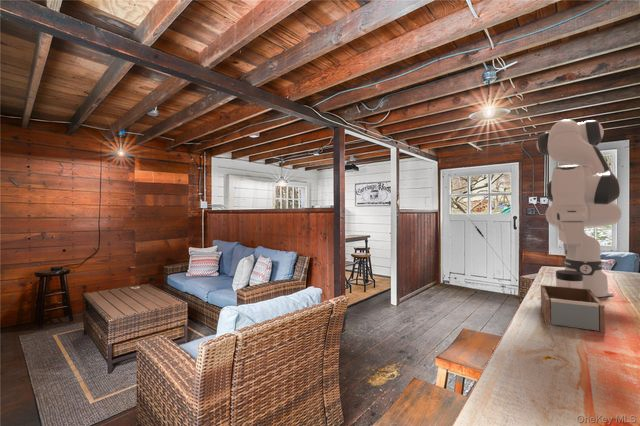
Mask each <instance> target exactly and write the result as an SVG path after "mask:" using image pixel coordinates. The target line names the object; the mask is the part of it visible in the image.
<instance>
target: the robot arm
mask: <svg viewBox="0 0 640 426" xmlns="http://www.w3.org/2000/svg"><path fill="white" fill-rule="evenodd" d="M604 132H605V131H604V128H603V126H602V124H600V122H599V120H594V119H591V120H585V121H584V122H583V121H581V122H576V121H575V120H573V119H561V120H559V121H557V122H556V123H555V124H553V125H552V127H551V128H550V130H549V131H545V132H543V133H541V134H540V135H538V137H537V140H536V149H537V150H538V151H539V153H540V155H543V156H549V157H550V158H551V159H552V160H553V161H555V162H556V163H558V166H555V167H554V168H553V169H552V174H551V175H552V176H551V180H550V181H549V182H547V184H546V186H547V187H546V188H547V190H546V191H547V192H546V193H547V195H546V198H547V200H548V201H550V202H551V204H550V205H549V206H548V207H547V208H546V209H545V210H546V211H545V218H546V221H547V222H548V224H549V225H551V226H552V227H554V228H555V229H556V230H558V240H559V241H561V243H562V245H563V251H564V255H565V258H564V266H565V268H564V269H563V270H570V271H578V272H581V273H583V289H590V290H591V291H592V293H593V294H594V295H595V296H596V297H597V298H605V297H613V296H614V295H615V294H614V292H613V291H611V290H610V289H609V284H608V275H607V274H606V273H605V272H603V271H602V270H603V263H602V262H603V261H602V260H601V244H600V242H599V240H597V239H596V238H595V237H592V236H590V235H588V234H587V233H586V232H585V228H602V227H603V228H604V227H607V226H614V225H615V224H618V222H619V221H620V220H621V218H622V210H621V208H620V206H619V205H618V204H617V203H615V202H614V201H616V200H618V198H619V197H620V194H621V185H620V182H619V181H618V178H617V177H616V175H614V174H613V172H612V170H611V169H610V166H609V164H608V163H607V161H606V159H605V158H604V155H603V154H602V152H601V150H600V149H599V147H598V145H599V144H600V143H601V142H602V141H603V137H604V134H605V133H604Z"/></svg>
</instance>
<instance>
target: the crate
mask: <svg viewBox="0 0 640 426" xmlns="http://www.w3.org/2000/svg"><path fill="white" fill-rule="evenodd" d="M550 298H553V299H562V300H572V301H582V302H591V303H598V304H599V331H598V332H600V333H606V321H605V319H606V314H605V304H604V303H602V301H601V300H600V299H599V297H596V296H595V295H594V294H593V293H592V291H591V290H590V289H579V288H568V287H556V285H555V286H554V285H553V286H552V285H542V284H540V307H541V309H542V314H543V318H544V321H545V324H546V325H551V301H550Z"/></svg>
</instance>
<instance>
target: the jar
mask: <svg viewBox="0 0 640 426" xmlns="http://www.w3.org/2000/svg"><path fill="white" fill-rule="evenodd" d="M555 286H556V287H568V288H579V289H583V273H581V272H578V271H570V270H564V269H559V270H556V271H555Z"/></svg>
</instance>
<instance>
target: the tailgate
mask: <svg viewBox="0 0 640 426" xmlns="http://www.w3.org/2000/svg"><path fill="white" fill-rule="evenodd" d="M550 301H551V308H550V325H557V326H563V327H570V328H576V329H577V328H578V329H585V330H589V331H590V330H591V331H592V330H593V331H598V332H600V331H599V304H598V303H591V302H582V301H572V300H562V299H553V298H550Z"/></svg>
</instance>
